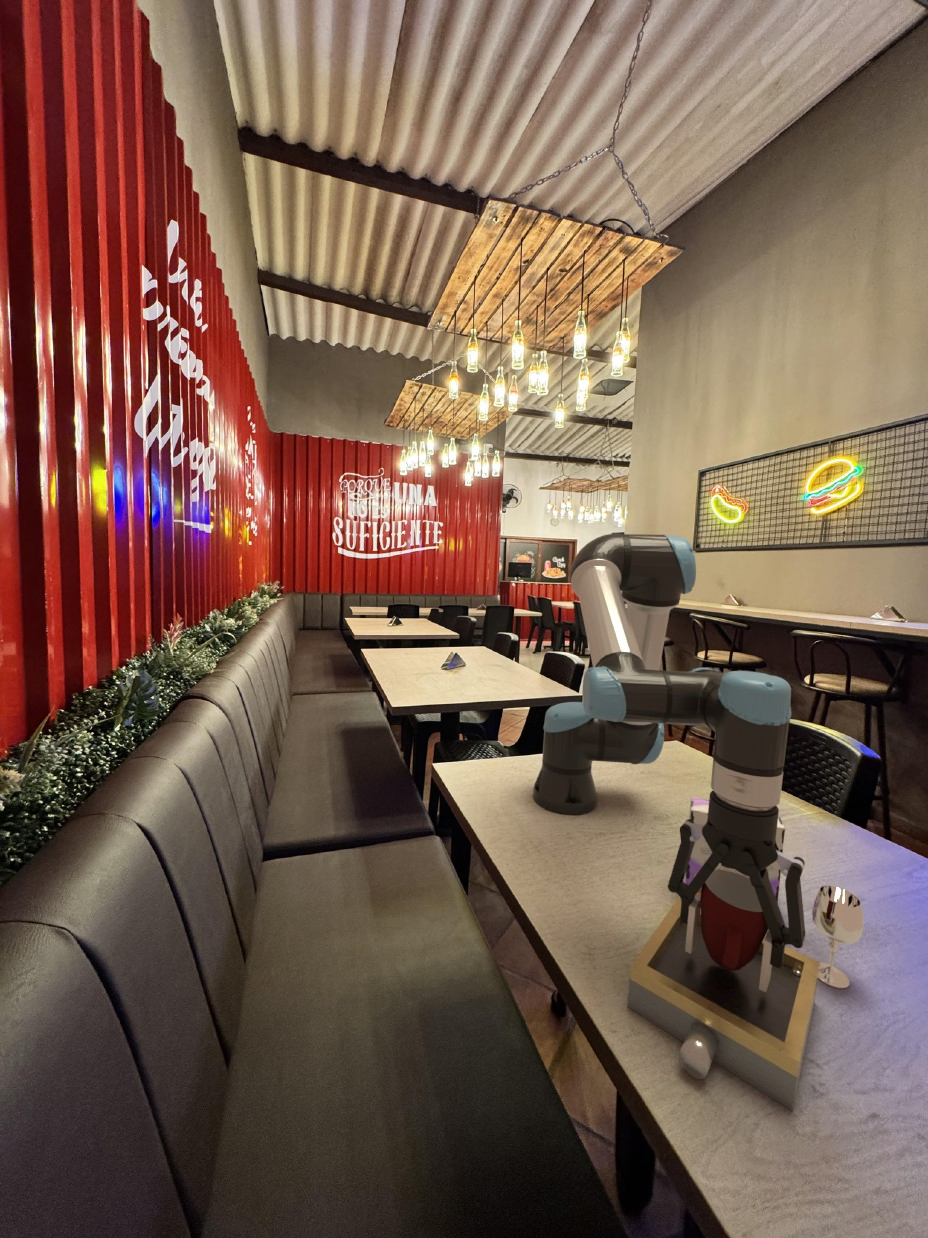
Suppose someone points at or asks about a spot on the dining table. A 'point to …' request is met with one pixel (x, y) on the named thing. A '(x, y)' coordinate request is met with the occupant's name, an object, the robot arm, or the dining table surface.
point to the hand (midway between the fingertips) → (726, 964)
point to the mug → (731, 919)
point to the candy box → (703, 851)
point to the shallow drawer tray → (727, 1008)
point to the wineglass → (836, 927)
